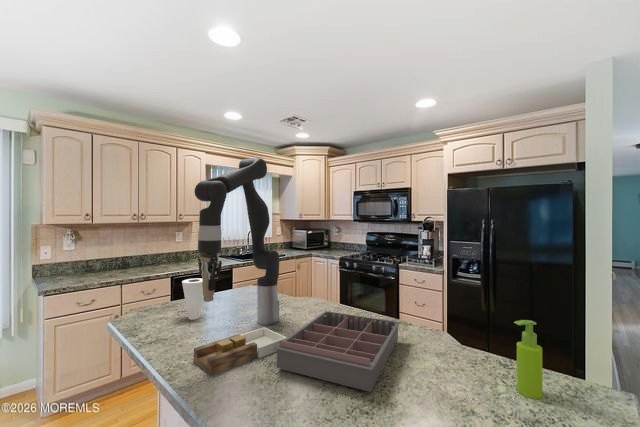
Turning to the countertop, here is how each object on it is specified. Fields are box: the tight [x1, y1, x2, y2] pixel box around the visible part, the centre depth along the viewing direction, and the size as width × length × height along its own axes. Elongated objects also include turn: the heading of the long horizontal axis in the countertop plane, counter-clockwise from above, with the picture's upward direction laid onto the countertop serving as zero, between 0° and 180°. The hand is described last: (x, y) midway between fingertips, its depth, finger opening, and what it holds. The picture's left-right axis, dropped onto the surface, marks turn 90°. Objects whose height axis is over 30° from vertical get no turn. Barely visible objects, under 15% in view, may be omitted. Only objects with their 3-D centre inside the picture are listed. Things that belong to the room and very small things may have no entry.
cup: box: [181, 277, 204, 321], centre depth 145 cm, size 11×11×18 cm
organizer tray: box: [274, 310, 401, 393], centre depth 107 cm, size 32×40×10 cm
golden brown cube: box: [230, 334, 246, 349], centre depth 107 cm, size 4×4×4 cm
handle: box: [199, 255, 219, 303], centre depth 103 cm, size 5×6×15 cm
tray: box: [240, 326, 288, 359], centre depth 114 cm, size 12×15×4 cm
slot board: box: [192, 334, 258, 377], centre depth 104 cm, size 17×13×4 cm
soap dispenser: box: [513, 319, 543, 400], centre depth 84 cm, size 6×7×20 cm
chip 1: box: [215, 338, 233, 355], centre depth 103 cm, size 4×4×4 cm
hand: (208, 288), depth 103 cm, fingers closed on handle, 4 cm apart
